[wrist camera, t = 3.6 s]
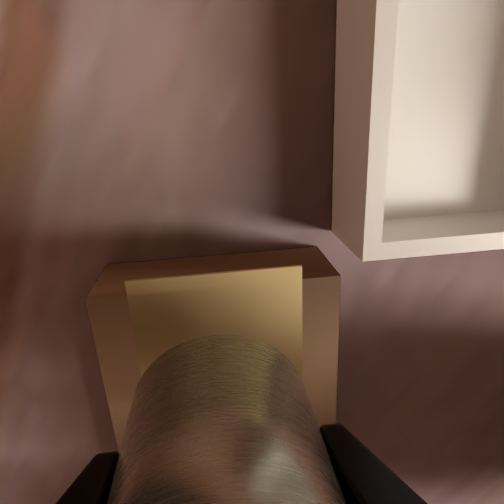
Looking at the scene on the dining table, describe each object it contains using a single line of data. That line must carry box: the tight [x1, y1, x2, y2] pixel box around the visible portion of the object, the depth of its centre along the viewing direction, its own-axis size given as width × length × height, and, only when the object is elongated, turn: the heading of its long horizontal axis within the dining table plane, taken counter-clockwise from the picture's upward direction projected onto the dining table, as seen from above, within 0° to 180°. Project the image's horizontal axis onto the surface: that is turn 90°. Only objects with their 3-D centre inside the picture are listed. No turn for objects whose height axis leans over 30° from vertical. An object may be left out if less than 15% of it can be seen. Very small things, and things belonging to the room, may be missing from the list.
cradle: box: [85, 246, 341, 453], centre depth 14 cm, size 15×7×4 cm, turn 3°
